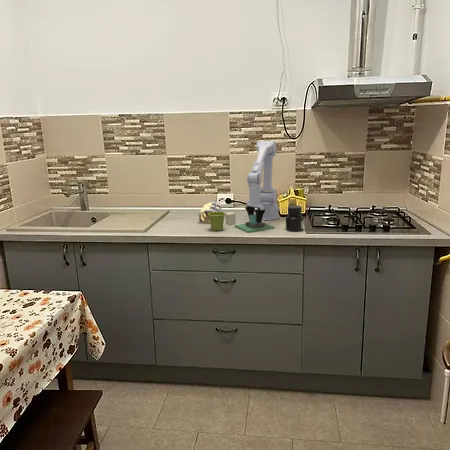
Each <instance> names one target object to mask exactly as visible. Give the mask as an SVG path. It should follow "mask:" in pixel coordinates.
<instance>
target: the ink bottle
mask: <svg viewBox="0 0 450 450" xmlns="http://www.w3.org/2000/svg"><path fill="white" fill-rule="evenodd" d="M285 230H286V231H288V232H301V231H303V230H304V216H303V215H302V206H301V205H289V206H288V207H287V216H285Z"/></svg>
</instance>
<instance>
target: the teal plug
mask: <svg viewBox="0 0 450 450" xmlns="http://www.w3.org/2000/svg"><path fill="white" fill-rule="evenodd" d="M248 219H249V221H248V222H249V223H251V224H259V223H257V219H256V213H254V214H253V215H249V216H248Z"/></svg>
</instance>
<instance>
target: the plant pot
mask: <svg viewBox="0 0 450 450" xmlns="http://www.w3.org/2000/svg"><path fill="white" fill-rule="evenodd" d="M226 213H227V212H223V211H221V212H210V213H208V214H207V216H208V219H209V224H210V230H211V231H214V232H215V231H218V232H219V231H220V232H221V231H222V230H223V229H224V224H225V223H224V221H225V214H226Z"/></svg>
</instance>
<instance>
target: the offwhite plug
mask: <svg viewBox="0 0 450 450" xmlns="http://www.w3.org/2000/svg"><path fill="white" fill-rule="evenodd" d="M225 213H226V214H225V217H224V221H225V225H229V226H232V225H237V221H236V220H237V219H236V212H232V211H230V212H225Z"/></svg>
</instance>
